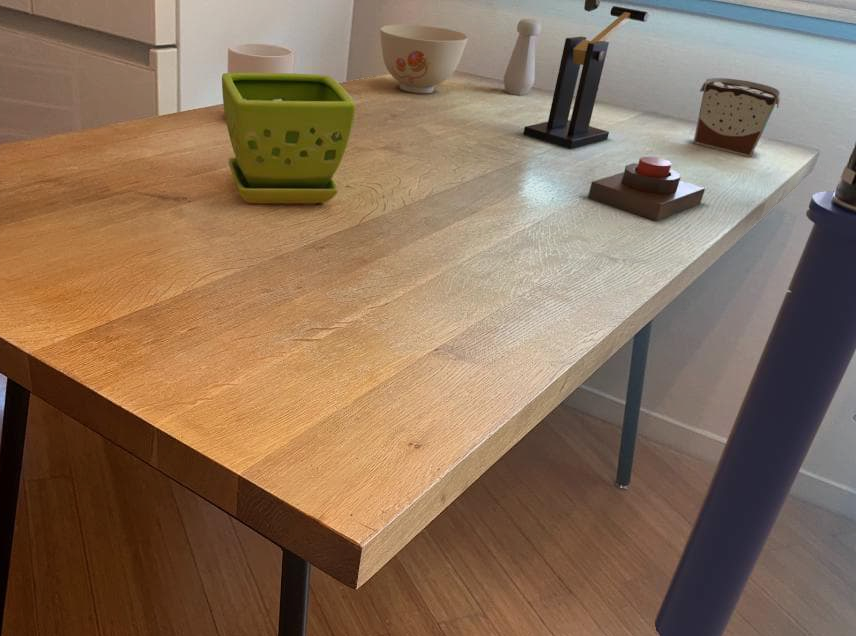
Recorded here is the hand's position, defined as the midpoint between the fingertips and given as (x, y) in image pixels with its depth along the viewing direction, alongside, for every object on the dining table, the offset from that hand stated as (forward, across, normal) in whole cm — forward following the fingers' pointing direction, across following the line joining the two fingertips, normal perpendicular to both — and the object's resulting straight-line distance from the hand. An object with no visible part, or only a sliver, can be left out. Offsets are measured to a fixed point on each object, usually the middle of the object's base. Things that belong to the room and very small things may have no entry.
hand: (571, 0), depth 131 cm
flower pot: (+39, -46, -1) cm, 60 cm away
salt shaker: (+3, +19, +31) cm, 36 cm away
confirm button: (+29, -2, -21) cm, 36 cm away
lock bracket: (+18, +8, +6) cm, 20 cm away
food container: (+15, +33, -6) cm, 37 cm away
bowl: (+6, 0, +37) cm, 37 cm away
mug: (+22, -35, +28) cm, 50 cm away
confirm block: (+32, -1, -19) cm, 38 cm away
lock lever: (+3, +9, +1) cm, 10 cm away
